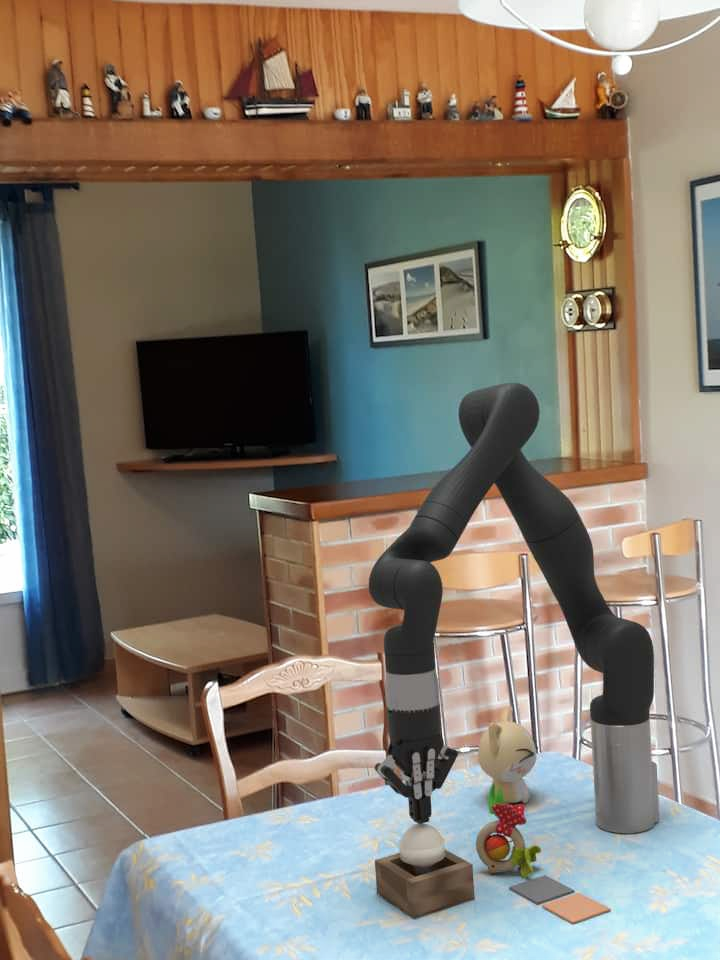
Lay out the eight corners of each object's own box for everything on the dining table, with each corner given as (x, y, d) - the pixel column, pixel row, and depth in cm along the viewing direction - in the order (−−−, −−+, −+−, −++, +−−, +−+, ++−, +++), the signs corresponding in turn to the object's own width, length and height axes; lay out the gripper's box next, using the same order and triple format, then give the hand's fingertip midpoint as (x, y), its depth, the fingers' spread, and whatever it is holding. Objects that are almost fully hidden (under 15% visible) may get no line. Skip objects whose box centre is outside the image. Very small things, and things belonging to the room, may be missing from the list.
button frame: (435, 876, 175) (433, 842, 175) (474, 899, 167) (472, 864, 166) (376, 894, 170) (374, 860, 170) (414, 918, 162) (411, 883, 161)
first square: (545, 877, 172) (545, 875, 172) (574, 892, 167) (574, 890, 167) (508, 888, 169) (508, 886, 169) (537, 904, 164) (537, 902, 164)
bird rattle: (492, 896, 172) (549, 872, 170) (457, 827, 172) (514, 803, 170) (496, 879, 178) (551, 855, 176) (462, 812, 178) (516, 788, 176)
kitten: (528, 819, 195) (523, 729, 194) (469, 815, 199) (464, 727, 198) (547, 788, 209) (543, 704, 208) (492, 785, 213) (487, 702, 212)
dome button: (430, 862, 173) (427, 813, 172) (455, 876, 167) (452, 825, 167) (392, 873, 170) (389, 823, 169) (416, 888, 164) (413, 836, 163)
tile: (579, 894, 166) (579, 892, 166) (610, 910, 160) (610, 908, 160) (542, 907, 163) (541, 905, 163) (572, 924, 157) (572, 922, 157)
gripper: (437, 687, 173) (445, 803, 174) (358, 704, 166) (366, 825, 168) (467, 697, 166) (474, 817, 168) (386, 715, 160) (394, 841, 161)
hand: (420, 821), depth 168 cm, fingers closed
